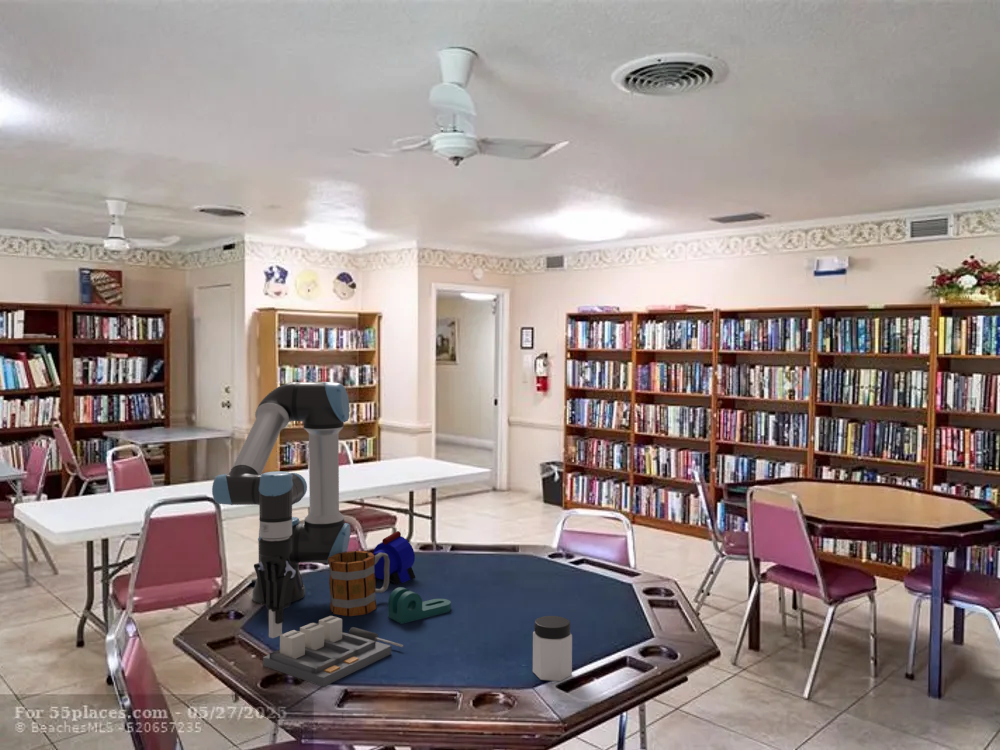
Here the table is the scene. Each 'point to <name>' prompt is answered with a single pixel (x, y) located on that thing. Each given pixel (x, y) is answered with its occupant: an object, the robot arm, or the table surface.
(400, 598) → the bracket
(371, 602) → the mug
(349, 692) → the table surface
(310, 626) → the white grooved block
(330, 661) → the switch bank
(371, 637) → the screwdriver
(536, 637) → the jar
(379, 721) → the table surface
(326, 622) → the small white box
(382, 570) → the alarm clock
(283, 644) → the small white box
